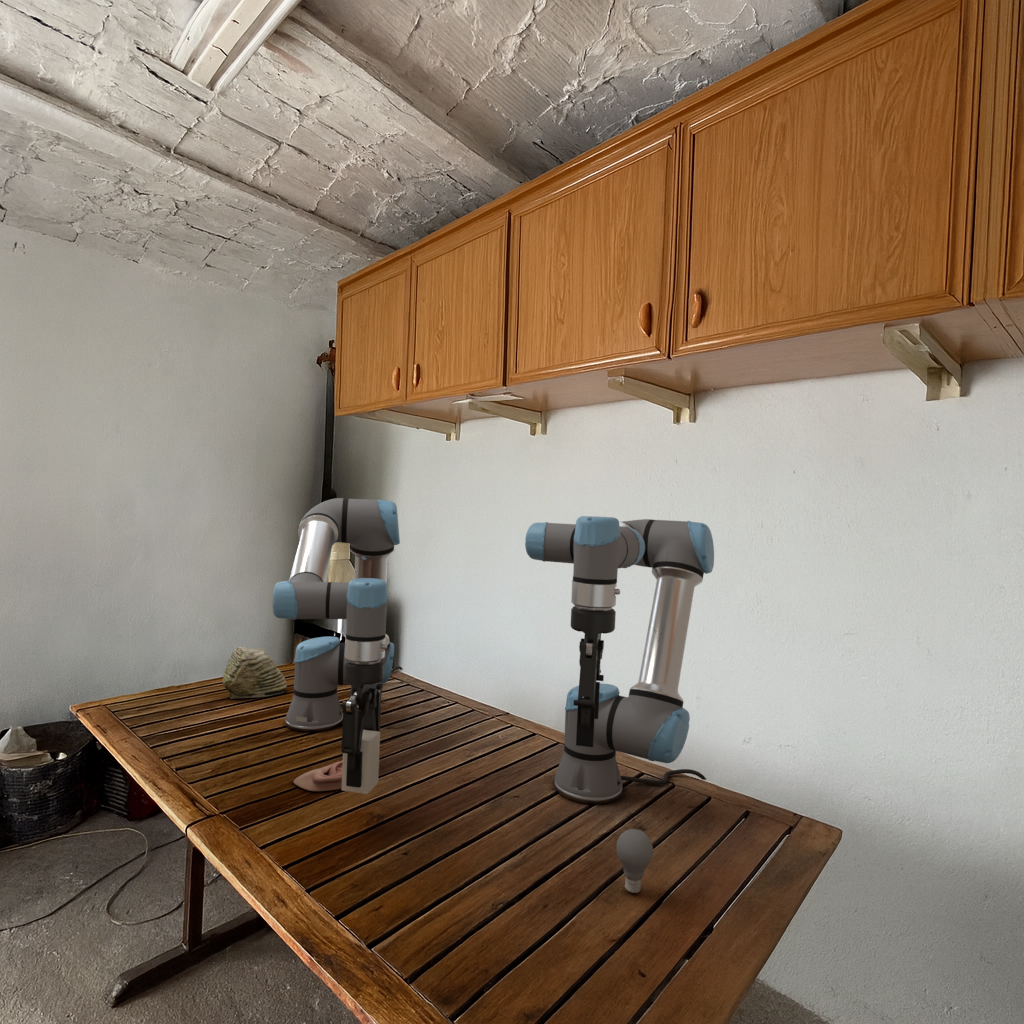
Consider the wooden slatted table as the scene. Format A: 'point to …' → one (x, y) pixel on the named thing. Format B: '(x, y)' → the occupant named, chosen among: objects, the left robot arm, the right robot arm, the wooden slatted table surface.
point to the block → (365, 763)
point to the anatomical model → (322, 778)
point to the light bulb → (634, 857)
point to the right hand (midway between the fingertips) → (587, 731)
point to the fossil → (252, 674)
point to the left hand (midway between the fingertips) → (360, 779)
